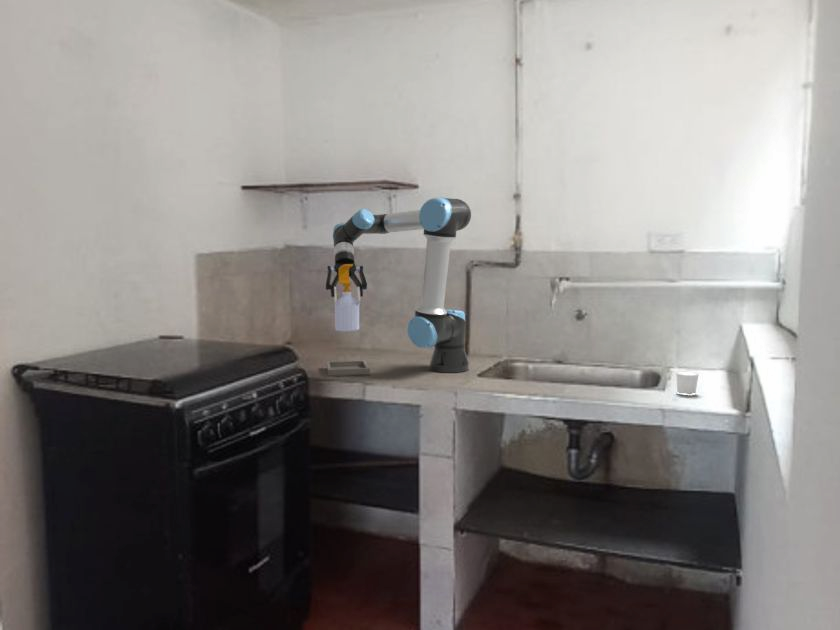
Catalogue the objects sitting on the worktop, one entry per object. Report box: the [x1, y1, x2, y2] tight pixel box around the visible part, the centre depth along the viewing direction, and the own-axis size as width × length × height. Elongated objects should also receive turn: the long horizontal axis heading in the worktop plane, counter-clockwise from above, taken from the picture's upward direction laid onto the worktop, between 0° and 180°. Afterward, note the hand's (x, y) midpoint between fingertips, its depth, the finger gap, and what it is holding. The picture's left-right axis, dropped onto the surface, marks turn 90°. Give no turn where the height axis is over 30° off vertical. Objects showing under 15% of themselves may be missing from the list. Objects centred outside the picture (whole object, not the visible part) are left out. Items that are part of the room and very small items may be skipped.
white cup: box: [675, 371, 699, 394], centre depth 234 cm, size 7×7×7 cm
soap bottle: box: [334, 264, 360, 332], centre depth 265 cm, size 9×9×25 cm
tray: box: [326, 360, 371, 377], centre depth 268 cm, size 15×16×3 cm
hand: (347, 302), depth 262 cm, fingers closed on soap bottle, 8 cm apart
